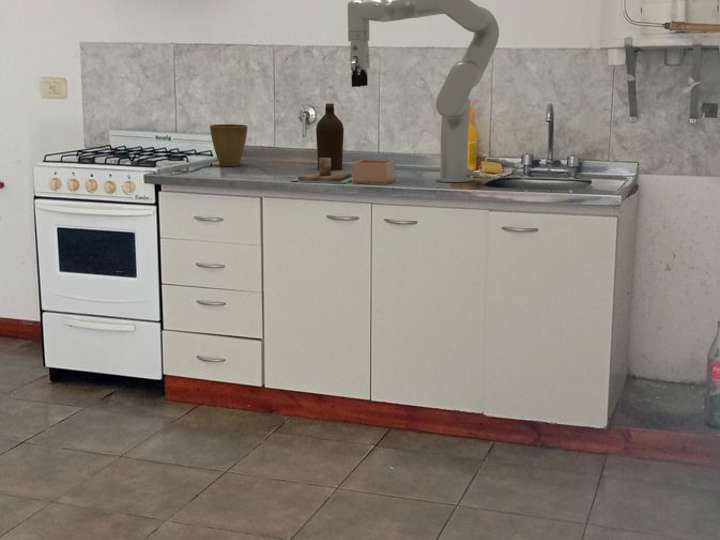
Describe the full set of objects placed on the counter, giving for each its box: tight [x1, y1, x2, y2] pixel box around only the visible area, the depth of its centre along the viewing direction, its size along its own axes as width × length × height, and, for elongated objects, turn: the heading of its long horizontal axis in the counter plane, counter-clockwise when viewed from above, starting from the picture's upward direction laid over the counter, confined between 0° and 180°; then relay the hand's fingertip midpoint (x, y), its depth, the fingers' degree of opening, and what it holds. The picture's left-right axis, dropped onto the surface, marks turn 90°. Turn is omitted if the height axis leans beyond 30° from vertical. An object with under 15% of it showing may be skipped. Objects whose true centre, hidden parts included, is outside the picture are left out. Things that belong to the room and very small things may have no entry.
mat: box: [290, 176, 353, 184], centre depth 371 cm, size 20×16×1 cm
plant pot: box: [209, 123, 249, 167], centre depth 417 cm, size 15×15×16 cm
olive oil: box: [315, 103, 345, 171], centre depth 404 cm, size 11×11×25 cm
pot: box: [352, 159, 396, 185], centre depth 365 cm, size 12×12×7 cm
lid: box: [297, 158, 353, 182], centre depth 370 cm, size 15×15×7 cm
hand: (359, 86), depth 373 cm, fingers open, 9 cm apart
